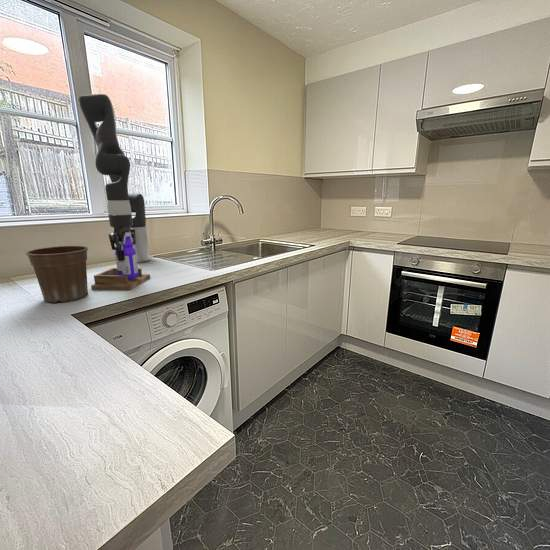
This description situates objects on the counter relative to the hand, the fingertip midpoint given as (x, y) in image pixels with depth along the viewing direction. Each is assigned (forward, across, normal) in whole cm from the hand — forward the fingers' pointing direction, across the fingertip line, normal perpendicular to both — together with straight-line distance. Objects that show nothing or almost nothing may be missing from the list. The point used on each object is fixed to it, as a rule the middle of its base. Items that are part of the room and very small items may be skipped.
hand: (126, 258), depth 112 cm
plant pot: (+10, +16, -13) cm, 23 cm away
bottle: (+8, 0, 0) cm, 8 cm away
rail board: (+10, 0, -2) cm, 10 cm away
